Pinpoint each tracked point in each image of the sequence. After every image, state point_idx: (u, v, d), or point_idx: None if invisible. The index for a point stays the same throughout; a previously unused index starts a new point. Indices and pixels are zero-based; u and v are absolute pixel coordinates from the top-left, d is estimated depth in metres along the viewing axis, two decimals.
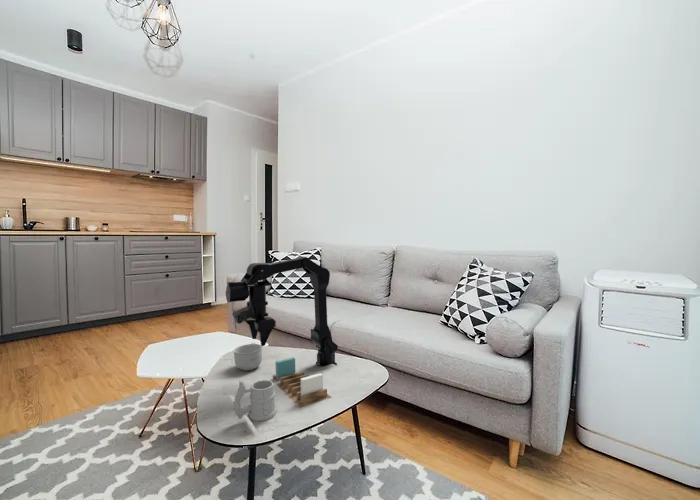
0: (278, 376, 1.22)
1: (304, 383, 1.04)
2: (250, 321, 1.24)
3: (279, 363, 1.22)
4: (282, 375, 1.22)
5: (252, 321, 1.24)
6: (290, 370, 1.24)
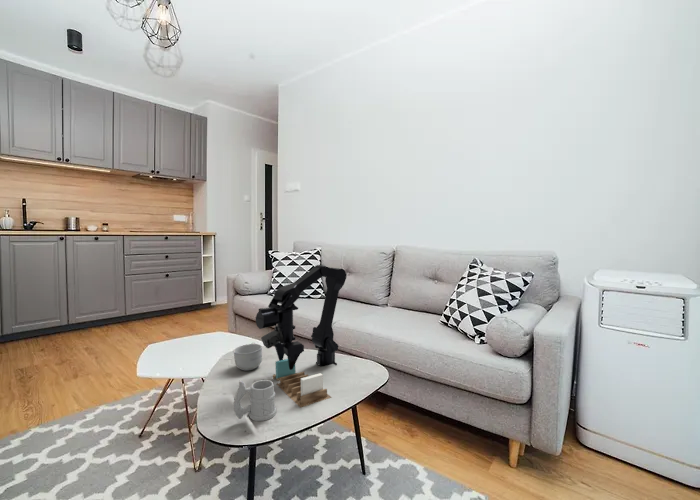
0: (278, 376, 1.22)
1: (304, 383, 1.04)
2: (277, 344, 1.27)
3: (279, 363, 1.22)
4: (282, 375, 1.22)
5: (279, 344, 1.27)
6: (290, 370, 1.24)
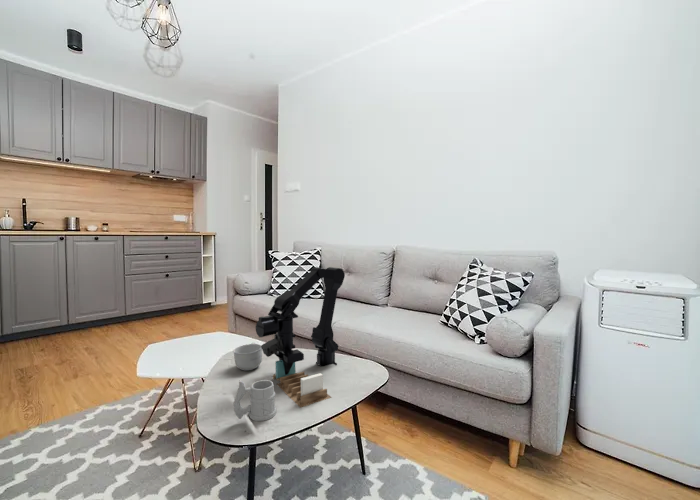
0: (278, 376, 1.22)
1: (304, 383, 1.04)
2: (281, 355, 1.24)
3: (279, 363, 1.22)
4: (282, 375, 1.22)
5: (282, 355, 1.25)
6: (290, 370, 1.24)
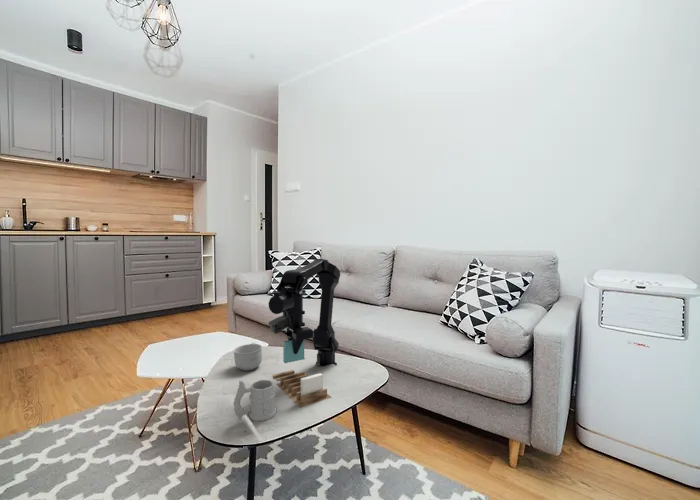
0: (286, 357, 1.14)
1: (304, 383, 1.04)
2: (289, 333, 1.16)
3: (287, 343, 1.14)
4: (290, 356, 1.14)
5: (291, 333, 1.17)
6: (299, 351, 1.16)
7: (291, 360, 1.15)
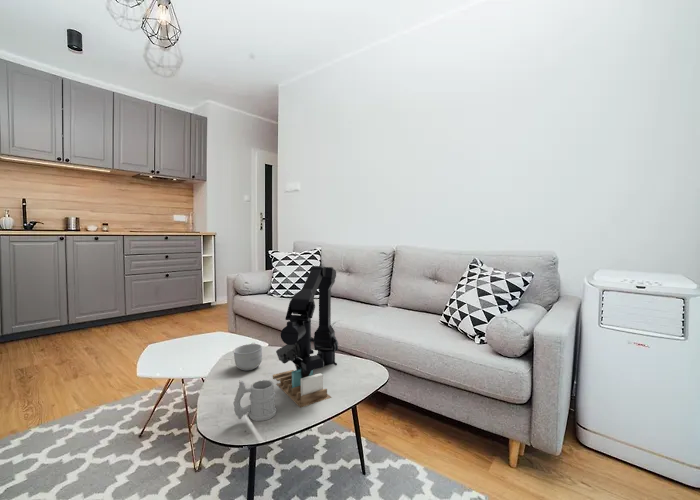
0: None
1: (304, 383, 1.04)
2: (297, 361, 1.13)
3: (296, 373, 1.10)
4: None
5: (299, 360, 1.13)
6: None
7: None
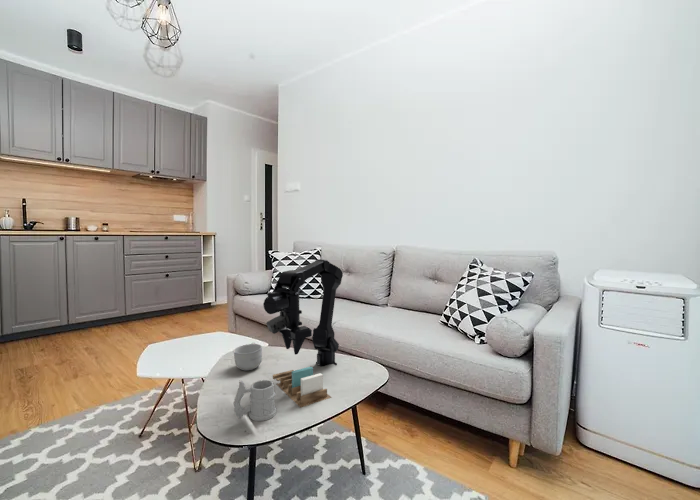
0: None
1: (304, 383, 1.04)
2: (284, 331, 1.21)
3: (296, 373, 1.10)
4: None
5: (286, 331, 1.21)
6: None
7: None
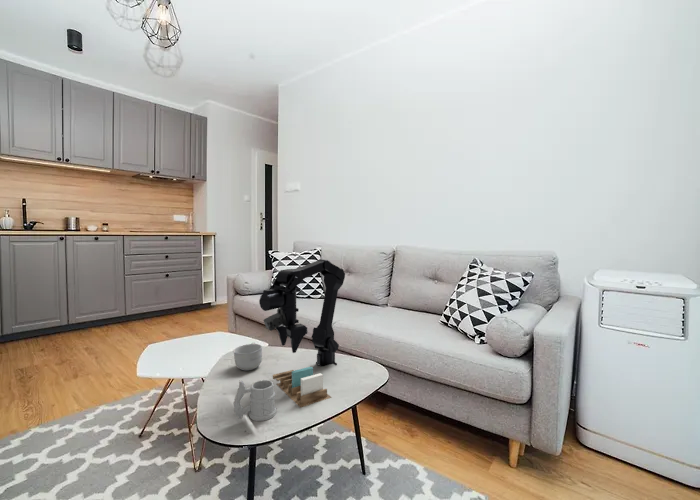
0: None
1: (304, 383, 1.04)
2: (280, 327, 1.24)
3: (296, 373, 1.10)
4: None
5: (281, 327, 1.24)
6: None
7: None
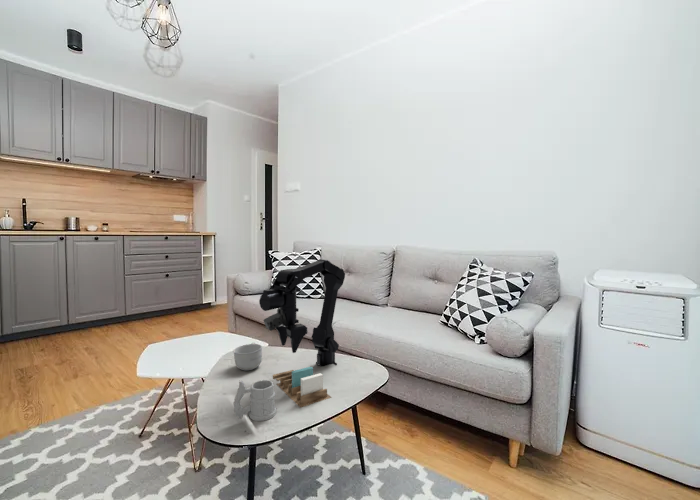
0: None
1: (304, 383, 1.04)
2: (280, 327, 1.24)
3: (296, 373, 1.10)
4: None
5: (281, 327, 1.24)
6: None
7: None
